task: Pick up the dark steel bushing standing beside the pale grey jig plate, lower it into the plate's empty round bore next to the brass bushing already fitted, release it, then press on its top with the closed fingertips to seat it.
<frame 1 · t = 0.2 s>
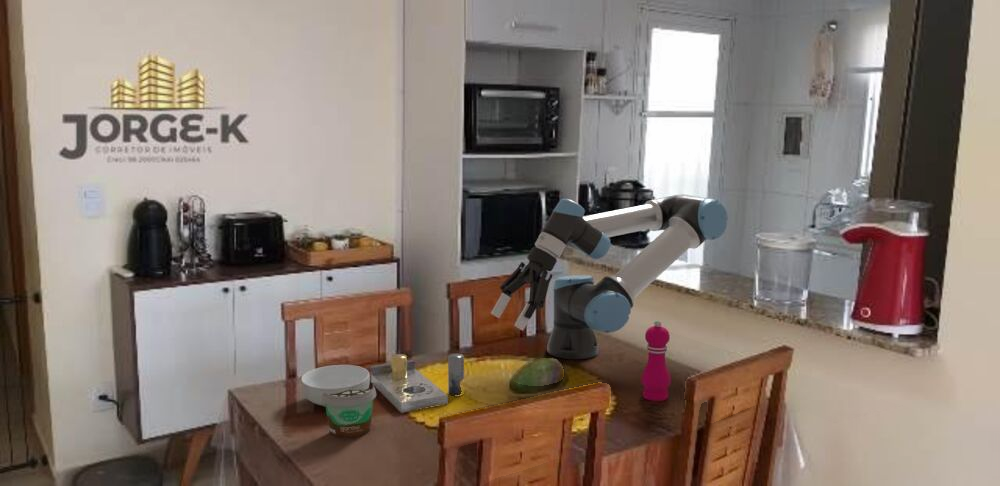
hand: (506, 322, 211), 16 cm above the table, tool tilted 35°, fingers open, 13 cm apart
food container: (353, 435, 179), on the table
steel bushing: (456, 393, 204), on the table
pepper mill: (655, 397, 202), on the table
jig: (407, 392, 205), on the table
cereal bowl: (336, 403, 198), on the table
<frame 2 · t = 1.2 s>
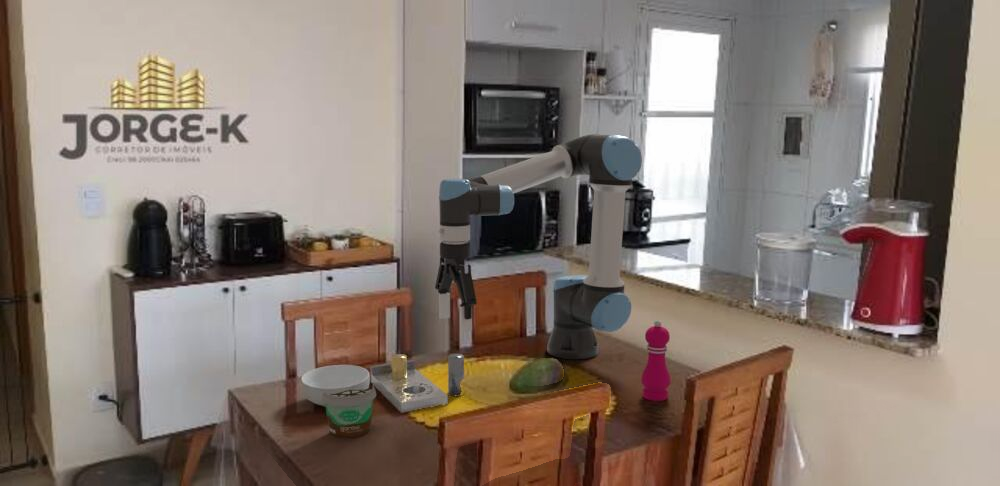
hand: (455, 324, 201), 18 cm above the table, tool pointing down, fingers open, 13 cm apart
nothing on the table moved.
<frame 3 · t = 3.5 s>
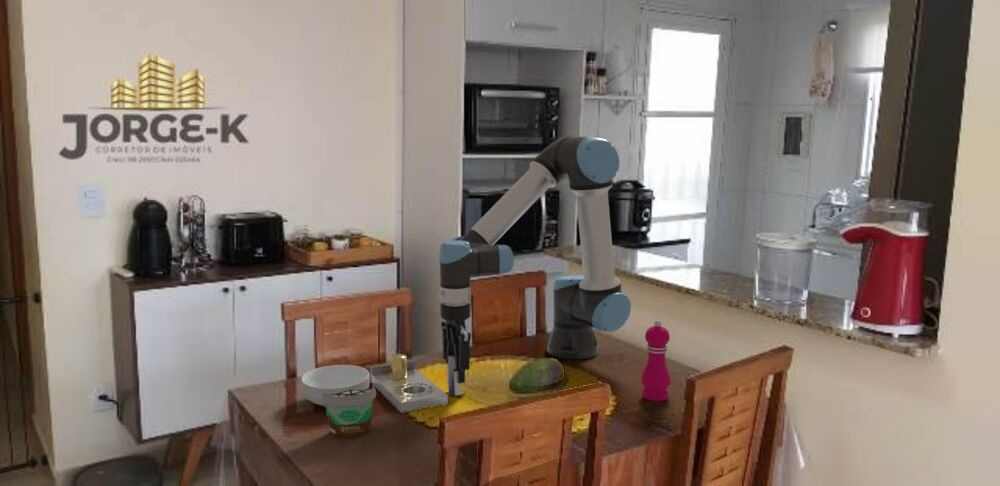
hand: (456, 391, 204), 1 cm above the table, tool pointing down, fingers closed on steel bushing, 4 cm apart
steel bushing: (456, 393, 204), on the table, touching gripper
everything else where it was.
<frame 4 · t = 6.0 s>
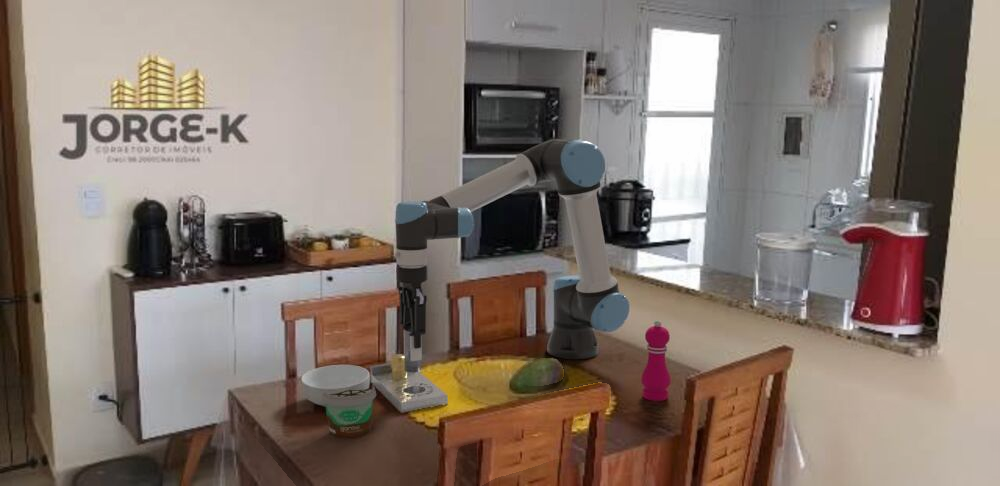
hand: (412, 357, 198), 11 cm above the table, tool pointing down, fingers closed on steel bushing, 4 cm apart
steel bushing: (412, 369, 199), point 8 cm above the table, touching gripper
everything else where it was.
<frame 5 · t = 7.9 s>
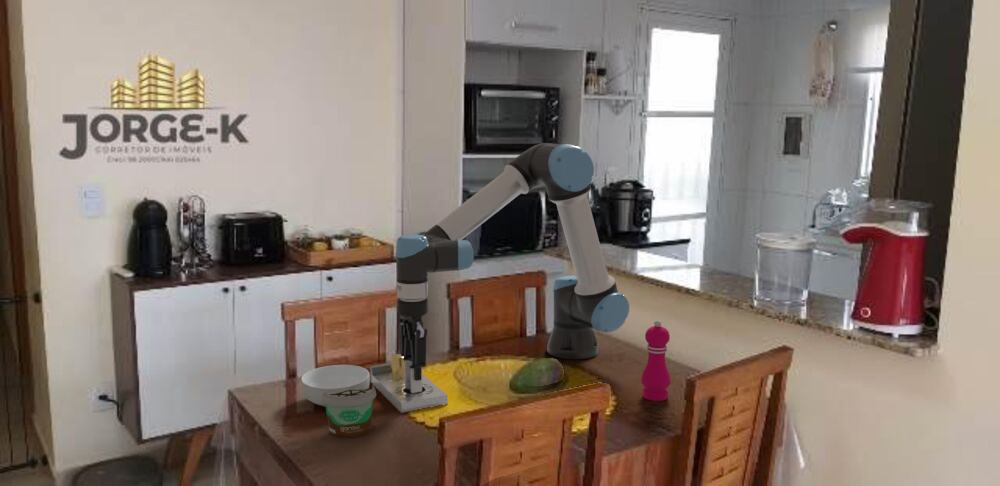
hand: (413, 388, 200), 3 cm above the table, tool pointing down, fingers closed on jig, steel bushing, 3 cm apart
steel bushing: (413, 398, 200), resting in jig, touching gripper
everything else where it was.
when the fingers open (3 cm above the table, at t = 8.7 s): steel bushing stays where it is, resting in jig.
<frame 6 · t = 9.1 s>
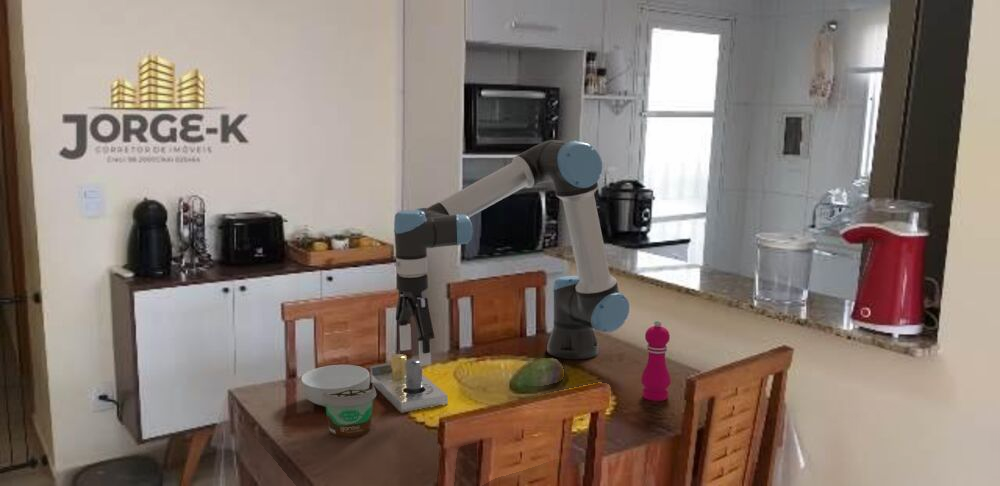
hand: (415, 357, 199), 11 cm above the table, tool pointing down, fingers open, 13 cm apart
steel bushing: (414, 399, 200), resting in jig
everything else where it was.
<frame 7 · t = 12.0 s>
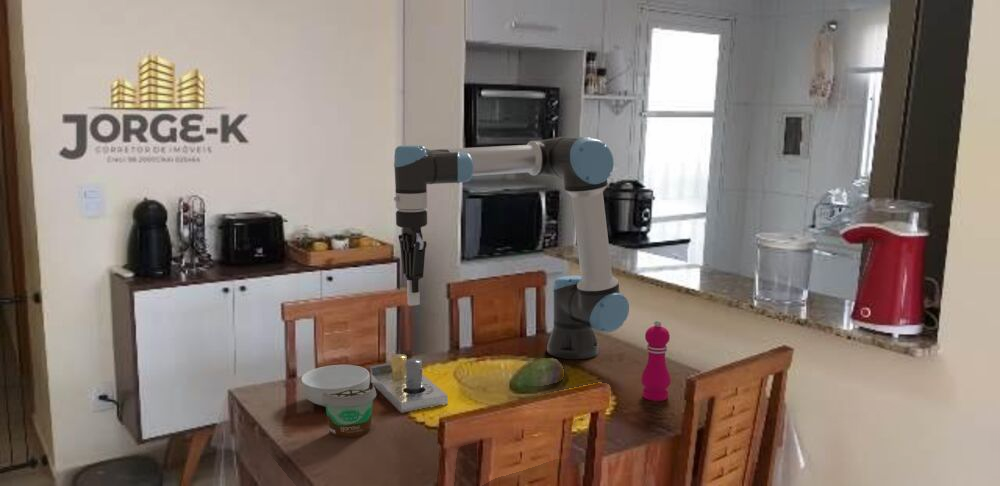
hand: (413, 304, 197), 24 cm above the table, tool pointing down, fingers closed
nothing on the table moved.
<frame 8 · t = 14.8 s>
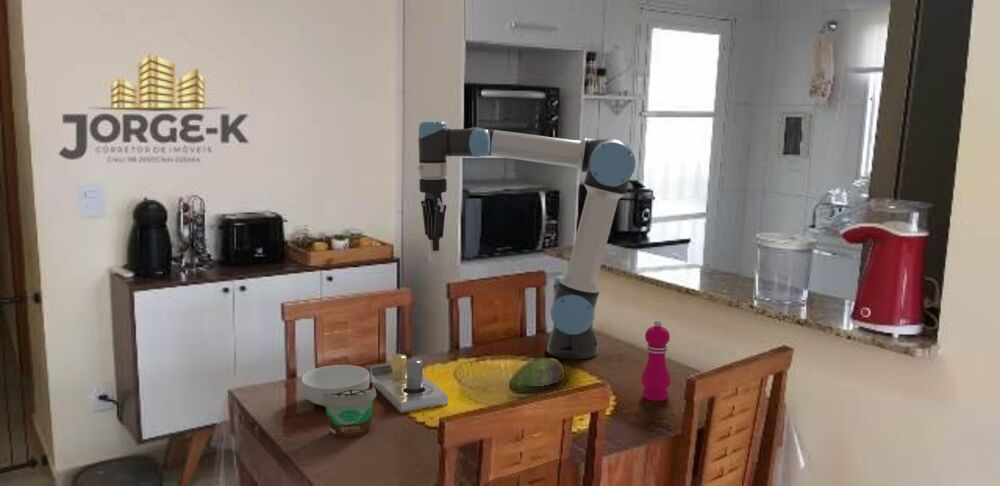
hand: (434, 261, 224), 29 cm above the table, tool pointing down, fingers closed
nothing on the table moved.
at the end: steel bushing 0.0 cm from the target spot on the jig, point 0.0 cm above the jig's base; steel bushing tilted 1°; the gripper is holding nothing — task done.
